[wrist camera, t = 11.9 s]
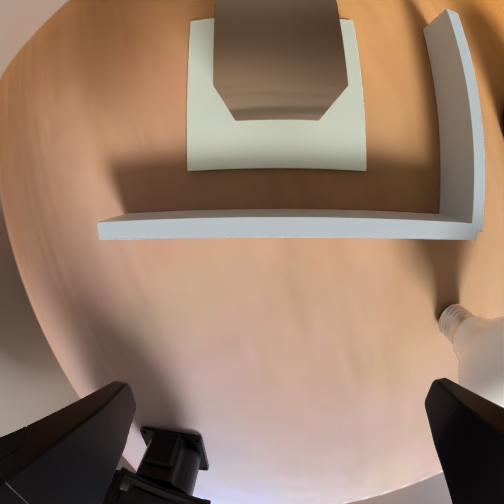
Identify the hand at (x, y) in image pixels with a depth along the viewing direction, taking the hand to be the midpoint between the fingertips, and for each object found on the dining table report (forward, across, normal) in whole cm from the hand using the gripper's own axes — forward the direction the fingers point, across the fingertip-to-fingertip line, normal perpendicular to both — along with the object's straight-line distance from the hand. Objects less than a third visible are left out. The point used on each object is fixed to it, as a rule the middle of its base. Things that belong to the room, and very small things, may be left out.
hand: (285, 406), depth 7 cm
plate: (+12, 0, -12) cm, 17 cm away
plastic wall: (+12, -1, -11) cm, 16 cm away
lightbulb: (+12, -14, +4) cm, 19 cm away
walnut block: (+12, 0, -12) cm, 17 cm away
